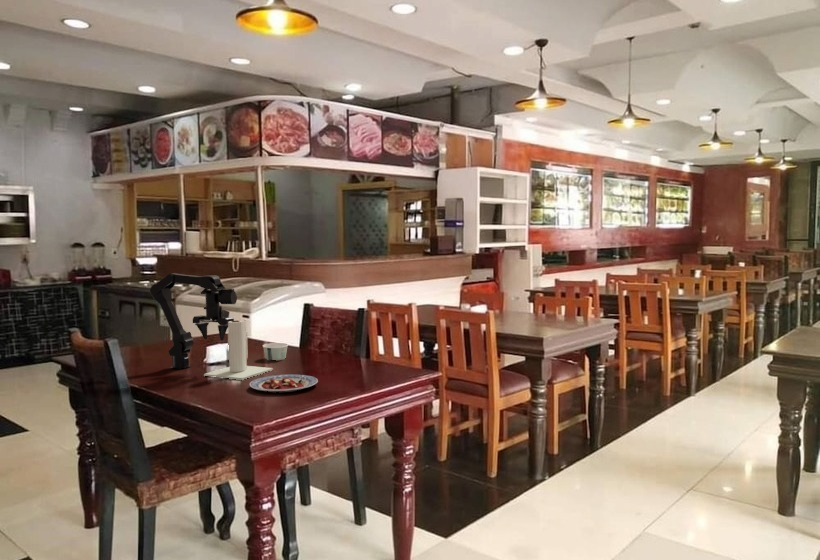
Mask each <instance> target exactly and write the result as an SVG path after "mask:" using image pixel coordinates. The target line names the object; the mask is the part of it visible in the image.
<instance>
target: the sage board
mask: <svg viewBox="0 0 820 560" xmlns="http://www.w3.org/2000/svg"><path fill="white" fill-rule="evenodd" d="M272 370H273V371H274V368H273V367H264V366H263V367H262V366H255V365H253V366H252V365H247V369H245V370H244V371H241V372H230V366H227V367H223V368H220V369H217V370H213V371H209V372H206V373H204V374H203V377H205V376H216V377H223V378H229V379H228V380H232V379H236V380H235V381H241V380H242V381H245V380H244V379H246V380H248V379H247V378H249V379H251V378H250V377H252V378H254V377H253V376H255V377H257V375H258V376H261V375H264V374H266V373H265V372H267V373H269V372H268V371H270V372H271V371H272ZM273 371H272V372H273ZM263 373H264V374H263ZM260 374H261V375H260ZM223 378H222V379H223Z"/></svg>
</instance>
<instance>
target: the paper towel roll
mask: <svg viewBox="0 0 820 560" xmlns="http://www.w3.org/2000/svg"><path fill="white" fill-rule="evenodd" d="M246 323H247V322H246V320H234V321H229V322H228V328H227V331H228V333H229V362H228V363H229V367H230V372H241V371H244V370H245V369H247V366H248V362H247V360H248V359H247V354H246V332H247V327H246V326H247V325H246ZM228 333H227V334H228Z"/></svg>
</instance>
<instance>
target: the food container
mask: <svg viewBox="0 0 820 560" xmlns="http://www.w3.org/2000/svg"><path fill="white" fill-rule="evenodd" d="M288 346H289V344H288V343H285V342H271V343H270V342H269V343H265V344H262V348H263V351H264V352H263V353H264V356H265V357H264V358H265V360H266V359H267V360H266V361H270V360H276V361H282V360H285V358H286V357H287V350H288ZM286 359H287V358H286Z"/></svg>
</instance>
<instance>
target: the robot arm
mask: <svg viewBox="0 0 820 560" xmlns="http://www.w3.org/2000/svg"><path fill="white" fill-rule="evenodd" d="M176 284H186V285H193V286H199V287H200V288H203V290H202V291H200V294H201V295H205V296H204V297H205V306H203V310H205V315H204V314H203V315H195V316H193V318H192V324H194V325H195V326H196V327H197V329H198V330H199V331H200V333H201V335H202V337H203V339H204V340H207V339H208V326H209V323H217V324H218V325H217V330H218V333H219V339H220V341H224V338H225V335H226V332H227V331H228V322H229V321H235V319H234V317H232V316H230V311H228V310H224V309H223V307H222V305H235V304H236V303H237V300H238V296H237V293H236V292H235V288H226V287H225V285H224V284H223V283H222V280H221V277H219V276H218V275H215V274H214V275H213V274H212V275H202V276H199V275H190V274H183V273H177V272H173V273H168V274H167V275H166V276H165V277H164V278H162V279H161V280H158V282H156V283H154V284H152V285H151V286H150V289H149V292H150V295H151V297H152V298H153V300H155V301H156V302H157V303H158V304H159V305H160V307H161V310H162V313H163V314H164V317H165V319H166V321H167V324H168V326H169V328H170V330H171V333H172V340H171V341H172V345H173V346H172V347H171V348H170V349H169V350H168V354H169V356H171V358H172V359H171V360H172V361H171V362H172V366H170V367H169V369H172V368H177V369H176V370H182V369H181V368H184V369H186V368H185V367H188V368H190V367H189V366H191V365H190V363H189V353H191V349H192V348H193V346H194V338H193V336H192V334H191V331H187V330H185V329H184V327H183V325H182V322H181V320H180V318H179V316H178V313H177V311H176V308H175V307H174V304H173V302H172V291H171V290H172V289H173V288H174V287H175V285H176Z"/></svg>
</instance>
